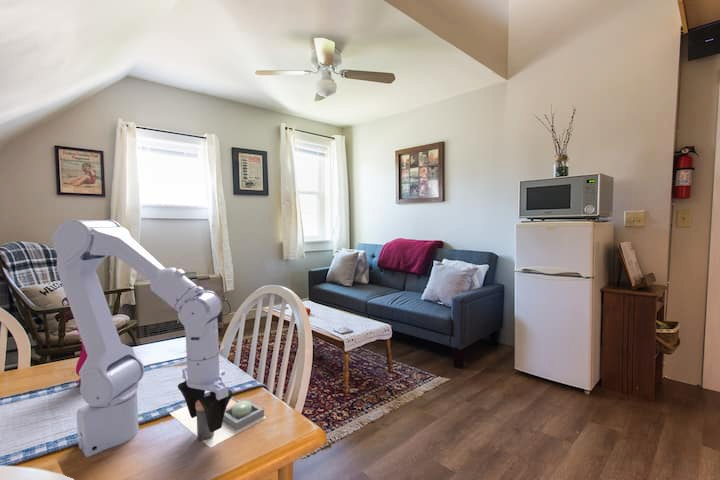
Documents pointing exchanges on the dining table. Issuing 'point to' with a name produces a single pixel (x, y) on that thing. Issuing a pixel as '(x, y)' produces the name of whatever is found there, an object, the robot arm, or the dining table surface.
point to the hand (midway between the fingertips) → (205, 422)
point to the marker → (202, 423)
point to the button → (241, 409)
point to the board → (228, 425)
